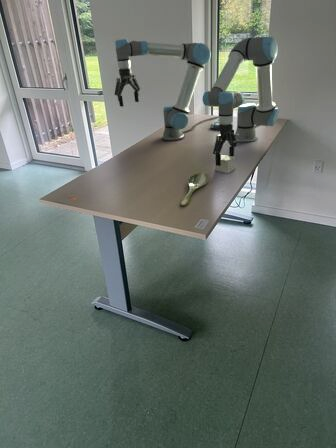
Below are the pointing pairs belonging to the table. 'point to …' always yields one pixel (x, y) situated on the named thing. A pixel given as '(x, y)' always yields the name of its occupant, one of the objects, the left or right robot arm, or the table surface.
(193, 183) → the spoon
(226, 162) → the block
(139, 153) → the table surface
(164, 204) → the table surface
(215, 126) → the spray gun
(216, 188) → the table surface
